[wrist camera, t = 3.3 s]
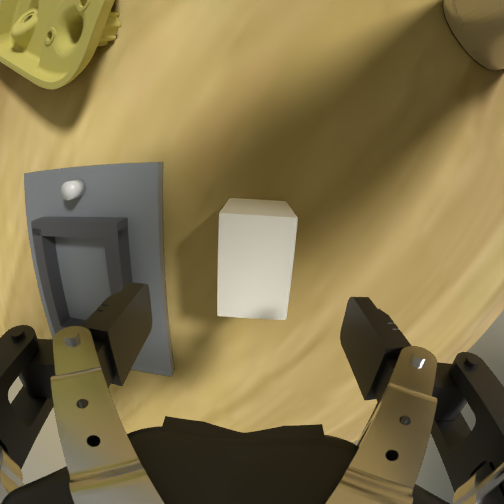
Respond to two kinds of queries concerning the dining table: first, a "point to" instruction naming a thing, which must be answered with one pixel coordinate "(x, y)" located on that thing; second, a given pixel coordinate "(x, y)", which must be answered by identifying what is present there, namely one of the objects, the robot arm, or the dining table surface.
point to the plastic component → (54, 37)
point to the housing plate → (100, 245)
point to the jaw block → (255, 258)
